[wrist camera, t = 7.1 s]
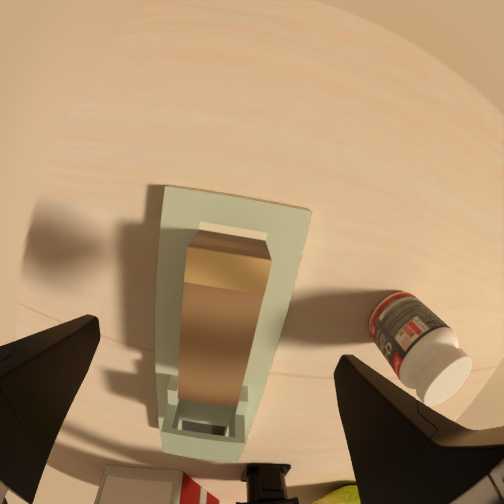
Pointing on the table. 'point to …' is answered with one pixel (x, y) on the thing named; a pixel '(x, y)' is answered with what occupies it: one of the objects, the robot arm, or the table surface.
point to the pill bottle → (419, 347)
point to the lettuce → (341, 496)
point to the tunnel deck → (170, 310)
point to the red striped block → (150, 487)
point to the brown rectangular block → (220, 315)
